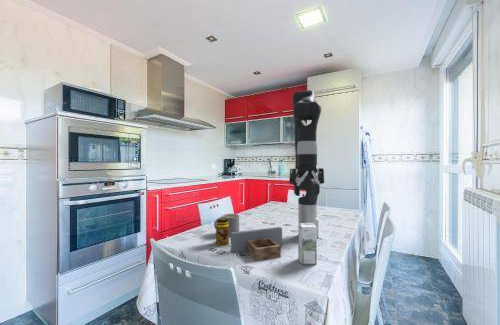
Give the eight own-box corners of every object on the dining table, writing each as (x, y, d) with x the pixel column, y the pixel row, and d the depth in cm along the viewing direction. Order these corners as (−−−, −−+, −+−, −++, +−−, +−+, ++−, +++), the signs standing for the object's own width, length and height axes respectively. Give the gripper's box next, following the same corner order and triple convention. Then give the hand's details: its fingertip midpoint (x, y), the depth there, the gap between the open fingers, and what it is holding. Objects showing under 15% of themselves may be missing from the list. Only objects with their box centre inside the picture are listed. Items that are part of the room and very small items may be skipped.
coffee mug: (241, 232, 125) (241, 214, 125) (236, 237, 115) (236, 218, 115) (218, 230, 128) (218, 213, 128) (211, 236, 118) (211, 217, 118)
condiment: (223, 247, 102) (223, 221, 102) (209, 244, 106) (209, 219, 106) (232, 242, 108) (232, 217, 108) (218, 239, 112) (218, 215, 112)
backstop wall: (280, 244, 106) (280, 227, 106) (282, 245, 104) (282, 228, 104) (230, 250, 98) (230, 232, 98) (232, 252, 96) (232, 233, 96)
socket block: (269, 247, 102) (269, 237, 102) (280, 256, 92) (280, 245, 92) (246, 250, 98) (246, 240, 98) (255, 260, 88) (255, 249, 88)
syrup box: (312, 258, 90) (312, 222, 90) (317, 265, 84) (316, 226, 84) (298, 258, 90) (297, 222, 90) (302, 265, 84) (301, 226, 84)
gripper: (296, 152, 81) (296, 197, 81) (328, 153, 86) (328, 195, 86) (285, 153, 88) (286, 194, 88) (316, 154, 93) (316, 193, 93)
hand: (307, 195), depth 87 cm, fingers open, 8 cm apart
